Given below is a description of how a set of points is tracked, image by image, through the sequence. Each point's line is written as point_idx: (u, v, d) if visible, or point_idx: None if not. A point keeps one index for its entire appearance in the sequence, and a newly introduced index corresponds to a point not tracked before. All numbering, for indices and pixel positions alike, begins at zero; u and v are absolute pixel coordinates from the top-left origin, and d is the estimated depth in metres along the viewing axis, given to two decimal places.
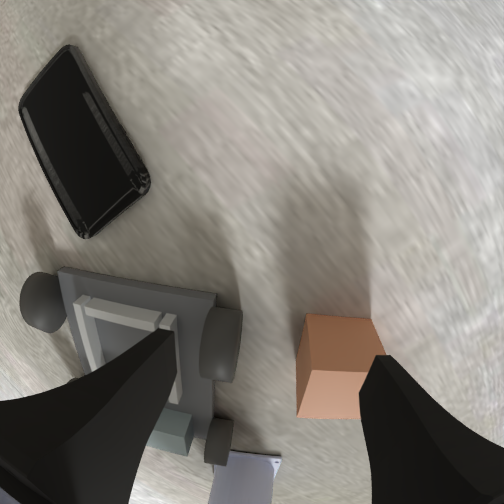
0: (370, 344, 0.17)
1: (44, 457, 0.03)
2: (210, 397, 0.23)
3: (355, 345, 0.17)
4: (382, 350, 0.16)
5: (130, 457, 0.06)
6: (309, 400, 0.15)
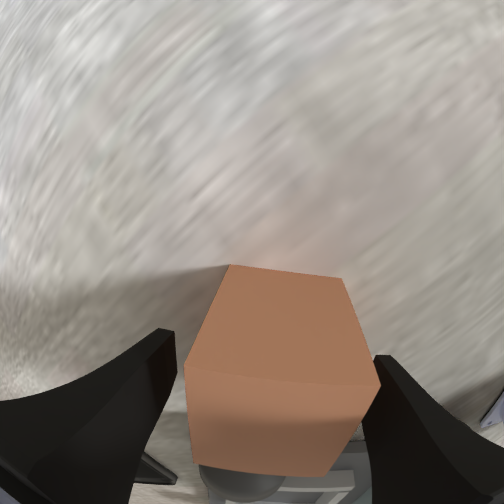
0: None
1: (44, 458, 0.03)
2: (364, 453, 0.14)
3: None
4: None
5: (131, 457, 0.06)
6: (271, 470, 0.07)
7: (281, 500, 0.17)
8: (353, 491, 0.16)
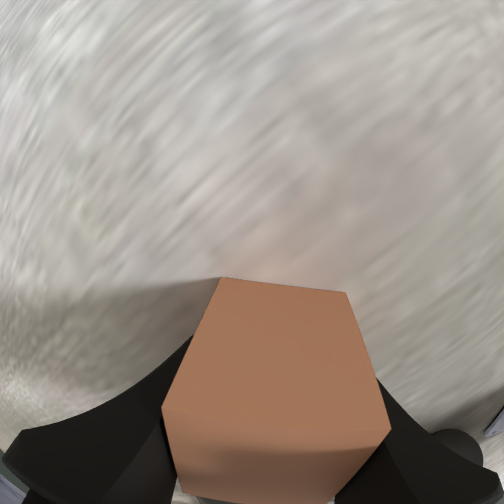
0: None
1: (103, 489, 0.03)
2: None
3: None
4: None
5: (172, 469, 0.06)
6: (266, 502, 0.06)
7: None
8: None
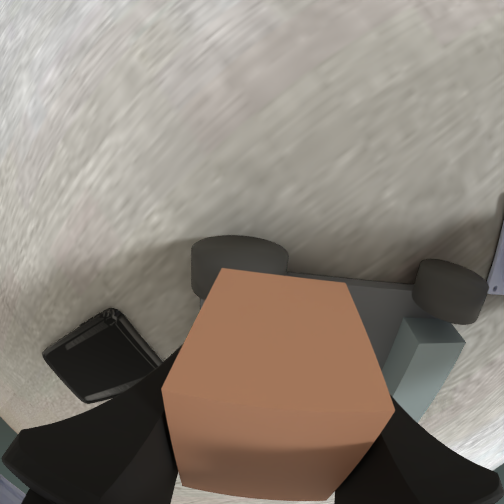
0: None
1: (103, 488, 0.03)
2: (366, 288, 0.17)
3: None
4: None
5: (172, 469, 0.06)
6: (268, 495, 0.06)
7: None
8: None
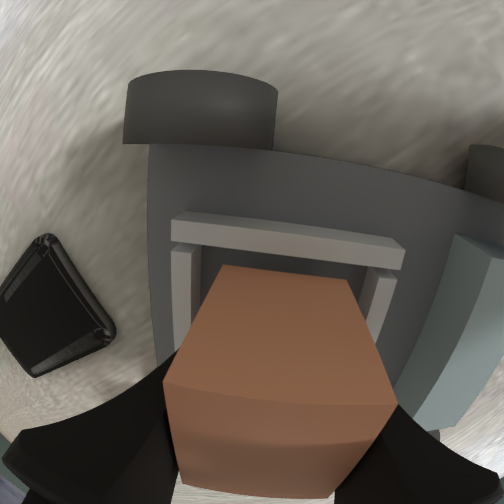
0: None
1: (103, 489, 0.03)
2: (401, 176, 0.10)
3: None
4: None
5: (172, 469, 0.06)
6: (269, 493, 0.06)
7: None
8: (398, 336, 0.12)
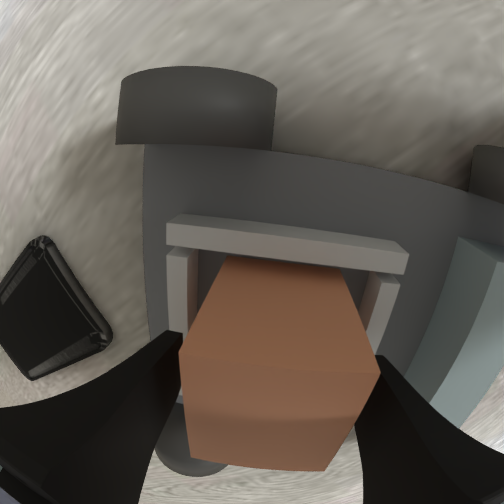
0: None
1: (57, 465, 0.03)
2: (405, 178, 0.10)
3: None
4: None
5: (140, 460, 0.06)
6: (270, 464, 0.07)
7: None
8: (400, 341, 0.12)
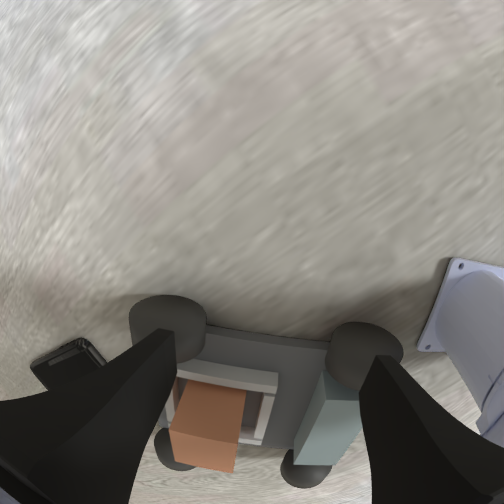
0: None
1: (44, 457, 0.03)
2: (283, 346, 0.19)
3: None
4: (177, 408, 0.17)
5: (130, 457, 0.06)
6: (208, 466, 0.17)
7: None
8: (290, 412, 0.22)
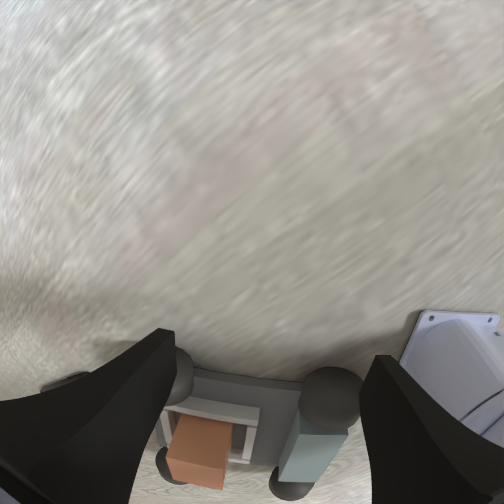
0: None
1: (44, 458, 0.03)
2: (262, 388, 0.21)
3: None
4: (173, 437, 0.19)
5: (130, 456, 0.06)
6: (201, 484, 0.18)
7: None
8: (274, 438, 0.23)
